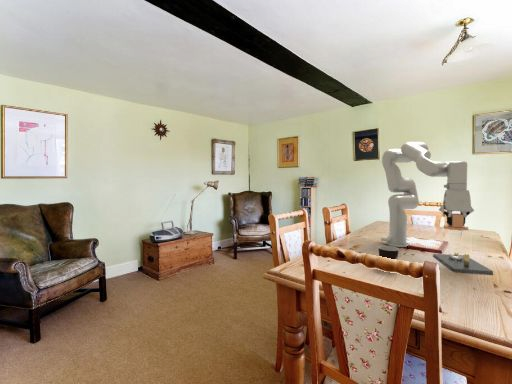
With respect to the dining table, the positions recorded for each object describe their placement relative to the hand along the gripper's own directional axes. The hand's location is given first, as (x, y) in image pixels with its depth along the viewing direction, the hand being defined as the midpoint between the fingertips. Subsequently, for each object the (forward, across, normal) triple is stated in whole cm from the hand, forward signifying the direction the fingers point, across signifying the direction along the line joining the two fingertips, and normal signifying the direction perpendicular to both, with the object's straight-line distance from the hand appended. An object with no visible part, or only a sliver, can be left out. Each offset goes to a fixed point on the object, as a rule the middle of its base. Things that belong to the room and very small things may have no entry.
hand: (455, 224), depth 129 cm
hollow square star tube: (+2, 0, 0) cm, 2 cm away
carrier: (+20, +3, +3) cm, 20 cm away
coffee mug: (+20, -31, -10) cm, 38 cm away
